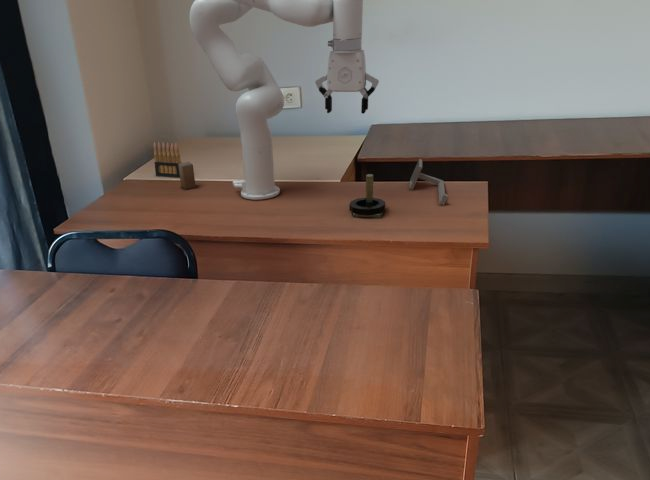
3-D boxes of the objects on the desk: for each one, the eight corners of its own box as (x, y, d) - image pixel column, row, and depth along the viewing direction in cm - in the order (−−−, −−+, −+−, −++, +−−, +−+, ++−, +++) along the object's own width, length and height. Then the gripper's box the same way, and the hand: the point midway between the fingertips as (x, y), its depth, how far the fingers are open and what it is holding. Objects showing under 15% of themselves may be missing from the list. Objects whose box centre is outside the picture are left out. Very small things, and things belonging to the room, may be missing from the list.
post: (353, 217, 191) (353, 179, 185) (357, 207, 197) (357, 170, 191) (381, 218, 188) (382, 179, 183) (384, 208, 195) (385, 171, 189)
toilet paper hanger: (439, 214, 195) (450, 191, 191) (409, 204, 195) (419, 180, 191) (437, 190, 214) (447, 168, 210) (409, 180, 214) (419, 158, 210)
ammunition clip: (184, 176, 238) (179, 142, 232) (181, 177, 236) (177, 143, 230) (158, 174, 242) (153, 140, 236) (155, 175, 240) (150, 142, 234)
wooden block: (196, 187, 225) (193, 163, 221) (185, 189, 224) (181, 166, 220) (191, 184, 228) (188, 161, 224) (180, 186, 227) (177, 163, 223)
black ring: (347, 214, 190) (347, 208, 189) (352, 203, 198) (352, 197, 197) (382, 215, 187) (383, 209, 186) (386, 203, 195) (386, 197, 194)
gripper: (312, 47, 176) (312, 114, 185) (377, 47, 171) (375, 115, 180) (318, 43, 182) (319, 108, 191) (382, 42, 177) (379, 109, 186)
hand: (346, 112), depth 186 cm, fingers open, 9 cm apart
